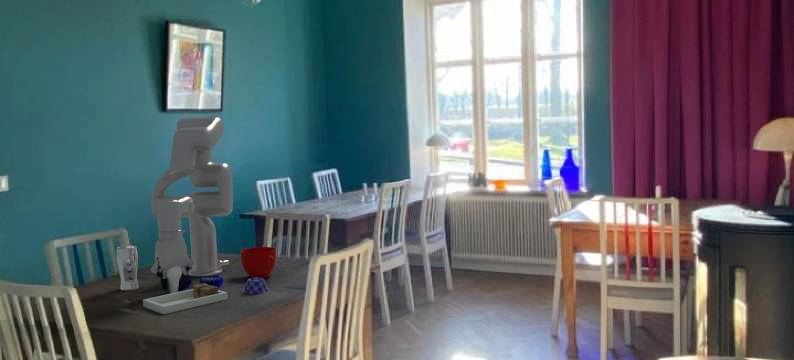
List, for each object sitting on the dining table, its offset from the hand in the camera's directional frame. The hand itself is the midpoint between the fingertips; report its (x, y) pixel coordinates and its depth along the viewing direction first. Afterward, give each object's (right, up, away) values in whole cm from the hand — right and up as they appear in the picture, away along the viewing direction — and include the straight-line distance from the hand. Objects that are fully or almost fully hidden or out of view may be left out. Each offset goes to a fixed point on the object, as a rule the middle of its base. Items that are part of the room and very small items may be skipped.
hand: (173, 287), depth 242 cm
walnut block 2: (+15, -2, -11) cm, 19 cm away
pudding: (+28, -2, -2) cm, 28 cm away
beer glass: (-19, -2, +12) cm, 23 cm away
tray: (+8, -4, -14) cm, 17 cm away
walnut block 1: (+12, -2, -7) cm, 14 cm away
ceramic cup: (+26, 0, +22) cm, 34 cm away
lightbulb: (0, -3, 0) cm, 3 cm away
